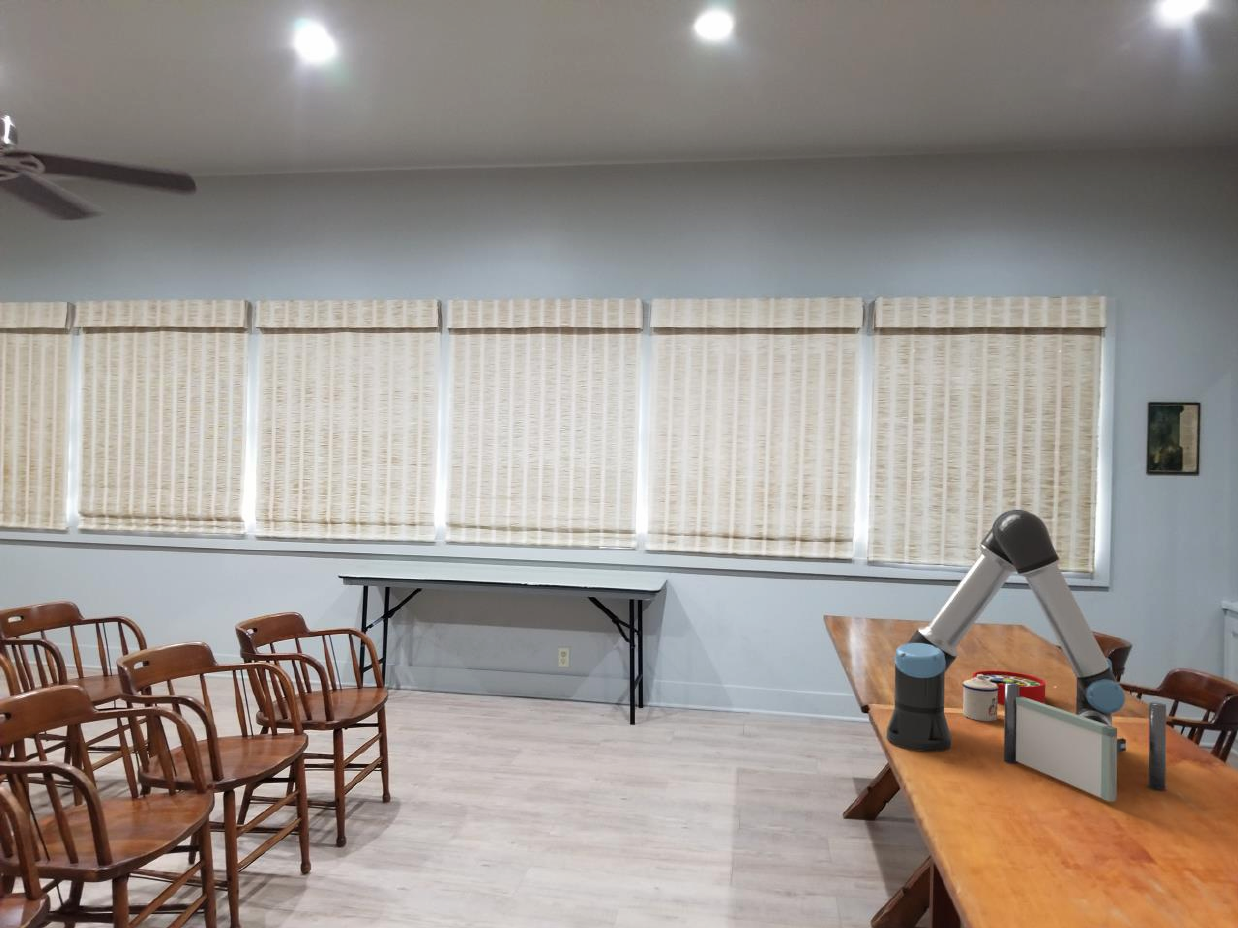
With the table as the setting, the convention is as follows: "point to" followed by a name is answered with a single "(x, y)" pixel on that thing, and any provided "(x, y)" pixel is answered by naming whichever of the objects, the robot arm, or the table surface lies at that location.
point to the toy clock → (1027, 684)
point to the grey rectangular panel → (1067, 747)
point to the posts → (1155, 736)
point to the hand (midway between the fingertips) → (1092, 760)
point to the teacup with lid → (980, 699)
